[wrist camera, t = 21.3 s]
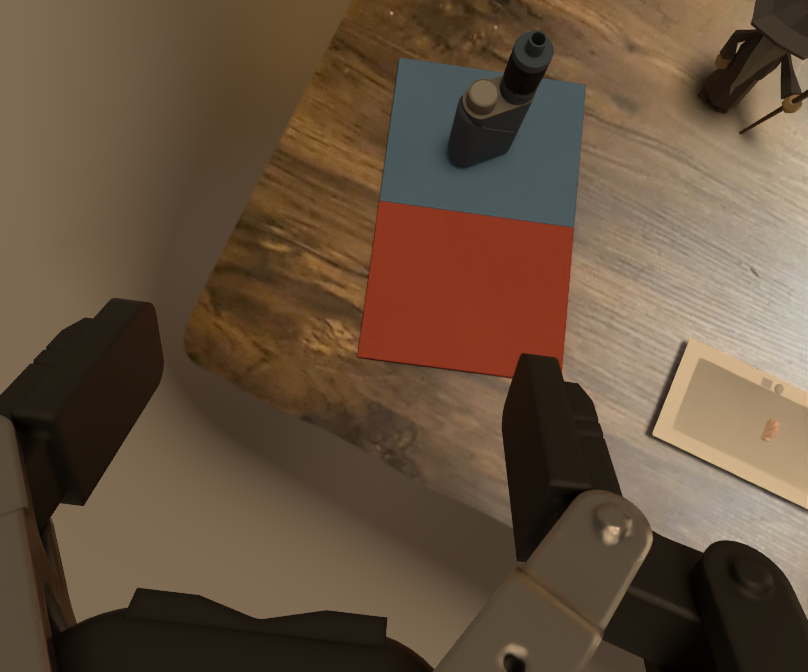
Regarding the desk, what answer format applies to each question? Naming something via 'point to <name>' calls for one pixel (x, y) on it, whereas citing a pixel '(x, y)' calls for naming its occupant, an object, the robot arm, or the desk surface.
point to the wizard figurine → (762, 57)
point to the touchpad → (739, 421)
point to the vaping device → (499, 103)
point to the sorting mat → (472, 231)
